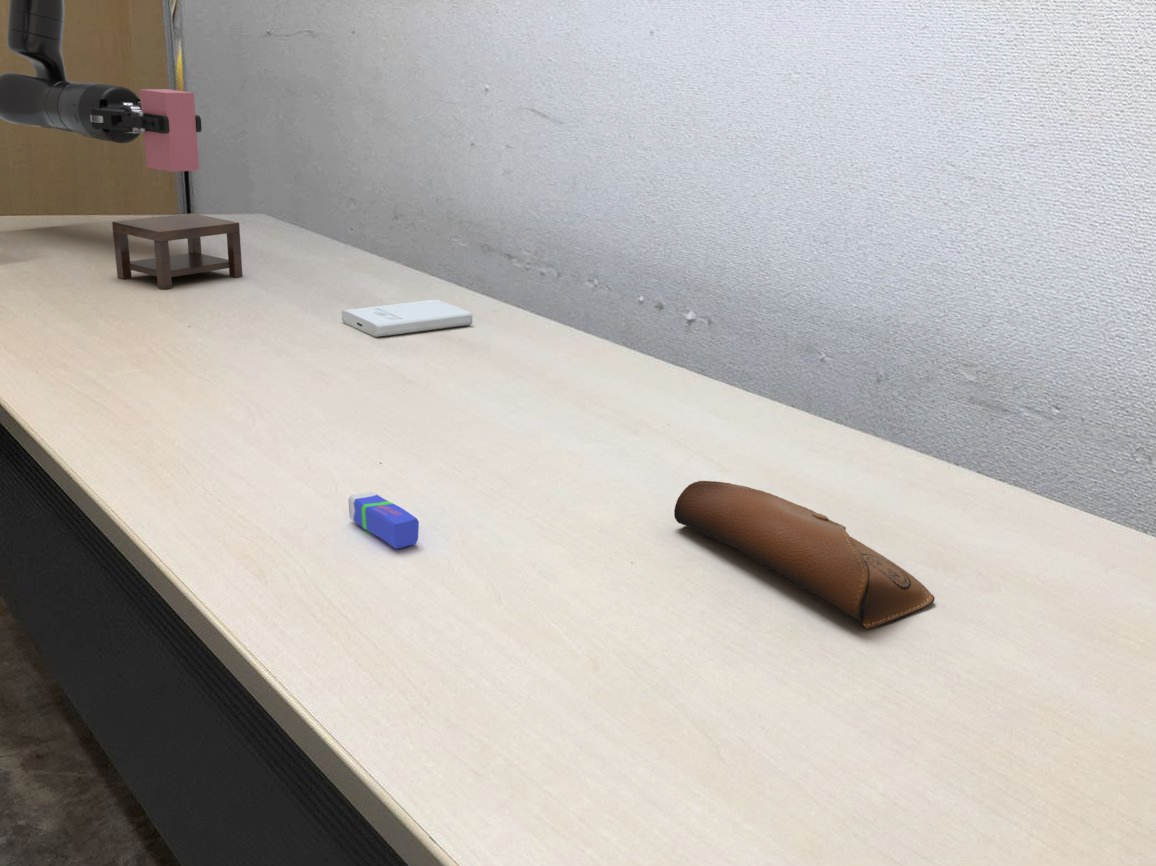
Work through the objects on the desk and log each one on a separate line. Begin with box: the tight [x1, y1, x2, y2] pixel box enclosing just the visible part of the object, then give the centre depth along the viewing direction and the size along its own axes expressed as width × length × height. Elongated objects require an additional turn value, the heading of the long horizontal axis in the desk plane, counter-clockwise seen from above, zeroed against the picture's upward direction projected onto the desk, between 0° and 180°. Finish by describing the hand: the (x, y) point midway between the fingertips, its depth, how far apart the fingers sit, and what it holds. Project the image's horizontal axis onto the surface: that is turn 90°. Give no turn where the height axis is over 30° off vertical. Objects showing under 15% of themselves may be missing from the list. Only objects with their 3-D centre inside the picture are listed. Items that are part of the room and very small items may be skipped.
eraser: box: [348, 490, 420, 550], centre depth 76 cm, size 2×6×2 cm, turn 42°
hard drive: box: [341, 299, 473, 338], centre depth 130 cm, size 2×8×12 cm
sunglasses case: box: [673, 480, 936, 630], centre depth 76 cm, size 18×7×7 cm
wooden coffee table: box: [111, 212, 243, 290], centre depth 143 cm, size 12×9×7 cm
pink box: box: [139, 88, 200, 173], centre depth 150 cm, size 4×5×10 cm
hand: (182, 124), depth 148 cm, fingers closed on pink box, 4 cm apart
